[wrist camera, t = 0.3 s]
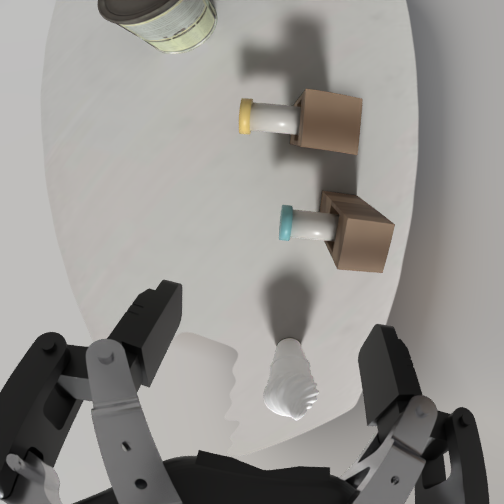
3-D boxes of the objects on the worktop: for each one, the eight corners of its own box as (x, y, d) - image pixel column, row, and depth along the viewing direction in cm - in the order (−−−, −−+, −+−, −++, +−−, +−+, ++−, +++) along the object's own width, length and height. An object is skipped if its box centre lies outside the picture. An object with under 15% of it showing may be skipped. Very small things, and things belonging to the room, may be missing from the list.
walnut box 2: (322, 190, 36) (347, 218, 24) (356, 195, 36) (394, 224, 24) (317, 226, 38) (337, 269, 26) (350, 230, 38) (382, 272, 26)
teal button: (282, 201, 31) (283, 209, 27) (341, 208, 30) (350, 217, 27) (278, 232, 32) (279, 245, 29) (336, 238, 32) (343, 251, 28)
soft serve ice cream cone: (280, 367, 49) (281, 438, 35) (256, 341, 47) (250, 416, 32) (319, 350, 47) (331, 422, 32) (297, 321, 45) (306, 398, 30)
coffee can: (135, 43, 28) (80, 15, 15) (173, -9, 24) (135, -53, 11) (191, 64, 30) (150, 32, 17) (232, 9, 26) (213, -43, 13)
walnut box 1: (293, 105, 31) (306, 88, 20) (330, 111, 31) (362, 98, 19) (289, 143, 34) (301, 146, 22) (327, 148, 33) (357, 155, 22)
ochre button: (244, 101, 26) (240, 95, 23) (309, 106, 26) (314, 102, 23) (241, 134, 28) (237, 133, 24) (306, 140, 28) (311, 140, 24)
